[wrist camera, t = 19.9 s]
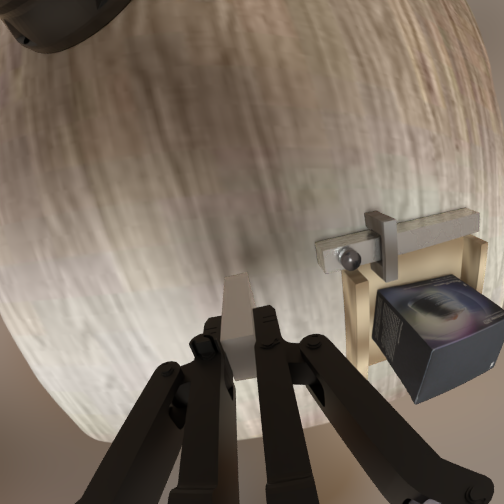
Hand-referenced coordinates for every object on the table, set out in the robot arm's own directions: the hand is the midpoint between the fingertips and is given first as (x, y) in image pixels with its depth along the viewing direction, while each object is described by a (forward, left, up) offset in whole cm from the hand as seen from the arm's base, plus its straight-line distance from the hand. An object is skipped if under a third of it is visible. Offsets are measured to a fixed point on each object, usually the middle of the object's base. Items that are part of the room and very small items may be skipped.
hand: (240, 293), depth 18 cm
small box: (+9, +17, -6) cm, 20 cm away
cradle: (+7, +17, -6) cm, 19 cm away
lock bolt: (+1, +16, -6) cm, 17 cm away
